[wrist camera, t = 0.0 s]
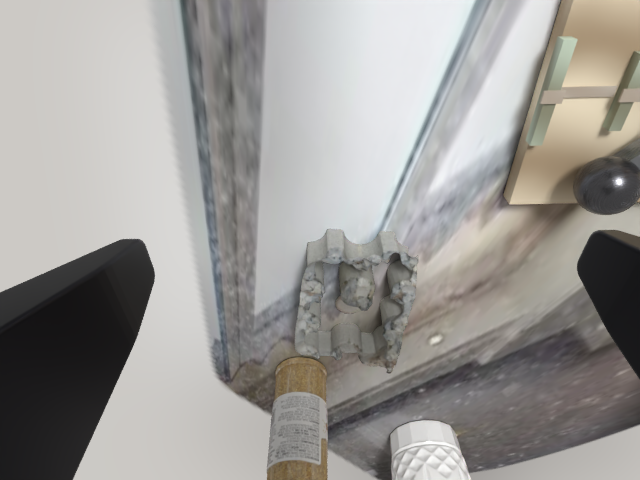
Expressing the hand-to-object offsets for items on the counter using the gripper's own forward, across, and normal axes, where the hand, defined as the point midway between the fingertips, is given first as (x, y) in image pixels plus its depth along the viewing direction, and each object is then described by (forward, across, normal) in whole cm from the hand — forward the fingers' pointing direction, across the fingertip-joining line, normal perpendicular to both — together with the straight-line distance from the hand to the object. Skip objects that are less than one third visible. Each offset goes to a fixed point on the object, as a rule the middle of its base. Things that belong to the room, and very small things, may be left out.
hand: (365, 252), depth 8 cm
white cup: (+15, +9, -38) cm, 41 cm away
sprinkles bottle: (+15, -3, -26) cm, 30 cm away
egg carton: (+15, +1, -16) cm, 22 cm away
